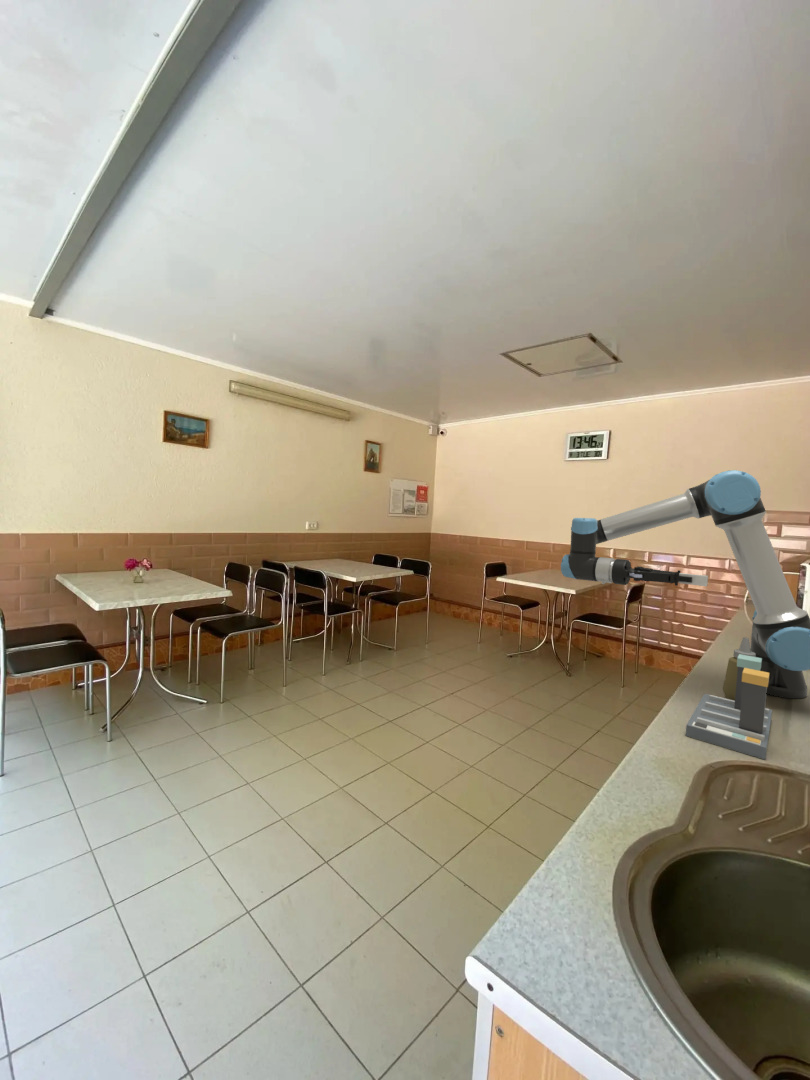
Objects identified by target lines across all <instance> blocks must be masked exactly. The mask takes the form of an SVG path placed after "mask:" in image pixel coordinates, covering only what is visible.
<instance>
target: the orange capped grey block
mask: <svg viewBox="0 0 810 1080" xmlns="http://www.w3.org/2000/svg"><path fill="white" fill-rule="evenodd" d="M742 682H743V686H742V698H741V710H740V722H739V728H740V729H743V730H747V731H751V732H754V733H758V734H762V735H763V727H764V716H765V708H766V705H767V702H766V701H767V694H766V693H767V687H768V683H769V673H768V672H763V671H758V670H753V669H748V668H744V670H743V672H742Z"/></svg>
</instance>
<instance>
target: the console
mask: <svg viewBox="0 0 810 1080" xmlns="http://www.w3.org/2000/svg"><path fill="white" fill-rule="evenodd" d="M734 706H735V701H734V700H730V699H726V698H724V697H720V696H716V695H712V694H708V693H704V694H703V695H702V697H701V699H700V700H699V702H698V704H697V706H696V707H695V709H694V711H693V713H692V714H691V715H690V718H689V719H688V721H687V723H686V726H685V729H686V730H685V737H689V738H692V739H695V740H698V741H701V742H705V743H709V744H712V745H715V746H718V747H721V748H725V749H729V750H732V751H735V752H738V753H741V754H745V755H748V756H750V757H751V756H752V757H753V758H754V757H755V758H758V759H761V760H765V761H766V758H767V751H768V745H769V737H770V732H769V731H770V730H771V725H772V718H773V716H772V714H773V709H770V708H766V707H765V716H764V727H763V735H762V734H758V733H754V732H751V731H747V730H743V729H740V728H739V722H740V710H738V709H734Z"/></svg>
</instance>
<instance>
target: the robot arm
mask: <svg viewBox="0 0 810 1080" xmlns="http://www.w3.org/2000/svg"><path fill="white" fill-rule="evenodd" d="M761 493H762V491H761V486H760V483H759V482H758V480H757V479H756V478H755V477H754V476H753V475H751V474H750V473H748V472H746V471H741V470H737V469H736V470H735V469H732V470H726V471H722V472H720V473H717V474H714V475H713V476H712V477H711V478H710V479H708V480H706V481H704V482H703V483H700V484H698V485H695V486H693V487H689V488H687V489H686V490H685V492H684V493H682V494H679V495H675V496H672V497H667V498H665V499H662V500H659V501H656V502H652V503H649V504H647V505H643V506H640V507H636V508H634V509H629V510H627V511H623V512H619V513H617V514H614V515H611V516H607V517H605V518H604V517H603V518H600V519H596V518H592V517H573V519H572V521H571V527H570V534H571V535H570V549H569V554H565V555H563V557H562V558H561V563H560V572H561V574H562V575H563V577H565V578H569V579H574V580H579V581H589V582H599V583H600V582H601V585H605V584H606V583H607V584H613V583H614V584H615V585H623V586H627V585H628V584H629V583H630V581H631V579H633V581H635V582H652V583H653V582H654V583H656V582H657V583H664V584H665V583H667V584H668V583H669V584H670V585H671V584H674V586H676V587H677V586H679V585H678V584H681V585H682V584H683V585H691V586H699V587H700V586H701V587H708V583H709V582H708V581H709V575H706V574H705V575H704V574H703V575H702V574H694V573H693V574H692V573H685V572H683V573H682V571H681V570H679V569H678V570H677V571H669V570H663V569H660V570H659V569H654V568H649V567H644V566H638V565H637V566H634V568H632V564H631V562H630V560H629V559H623V558H622V559H621V558H620V559H619V558H616V559H615V558H613V557H602V556H600V557H597V556H596V551H597V545H598V544H599V545H600V544H602V543H605V542H609V541H611V540H614V539H616V540H617V539H618V538H622V537H625V536H630V535H632V534H633V535H634V534H637V533H640V532H643V531H647V530H650V529H655V528H657V527H660V526H661V527H662V526H665V525H668V524H672V523H676V522H678V521H682V520H686V519H687V520H688V519H689V518H695V519H702V518H706V517H711V518H712V520H713V523H714V526H715V527H717V528H719V529H721V530H724V534H725V536H726V539H727V541H728V543H729V546H730V548H731V551H732V553H733V555H734V558H735V560H736V563H737V566H738V569H739V570H740V573H741V576H742V579H743V581H744V584H745V586H746V588H747V592H748V593H749V596H750V599H751V602H752V603H753V606H754V609H755V610H754V611H753V616H752V618H751V619H752V625H751V627H752V629H751V640H750V649H751V652H754V653H755V654H756V657H757V658H762V664H761V669H760V671H763V672H768V673H769V683H768V687H767V694H766V695H769V694H770V696H773V695H774V697H778V696H779V698H785V699H804V698H806V697H808V685H807V684H806V680H805V675H804V672H803V671H809V670H810V616H809V614H808V612H807V610H805V609H803V608H800V607H799V606H798V605H797V604H796V603H797V602H796V601H795V599H794V596H793V594H792V591H791V589H790V586H789V584H788V582H787V579H786V577H785V573H784V572H783V568H782V567H781V564H780V561H779V559H778V557H777V554H776V551H775V549H774V547H773V544H772V542H771V539H770V537H769V535H768V532H767V529H766V527H765V524H764V523H763V518H764V516H765V515H766V513H767V510H766V508H765V505H764V503H763V501H762V499H761V495H762V494H761Z"/></svg>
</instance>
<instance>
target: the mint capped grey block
mask: <svg viewBox="0 0 810 1080" xmlns="http://www.w3.org/2000/svg"><path fill="white" fill-rule="evenodd" d="M761 664H762V658H757V657H752V656H747V655H742V654H739V656H738V658H737V666H738V670H737V682H736V694H735V706H734V709H738V710H741V698H742V686H743V682H742V672H743V670H744V668H748V669H753V670H758V671H760V669H761Z"/></svg>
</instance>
